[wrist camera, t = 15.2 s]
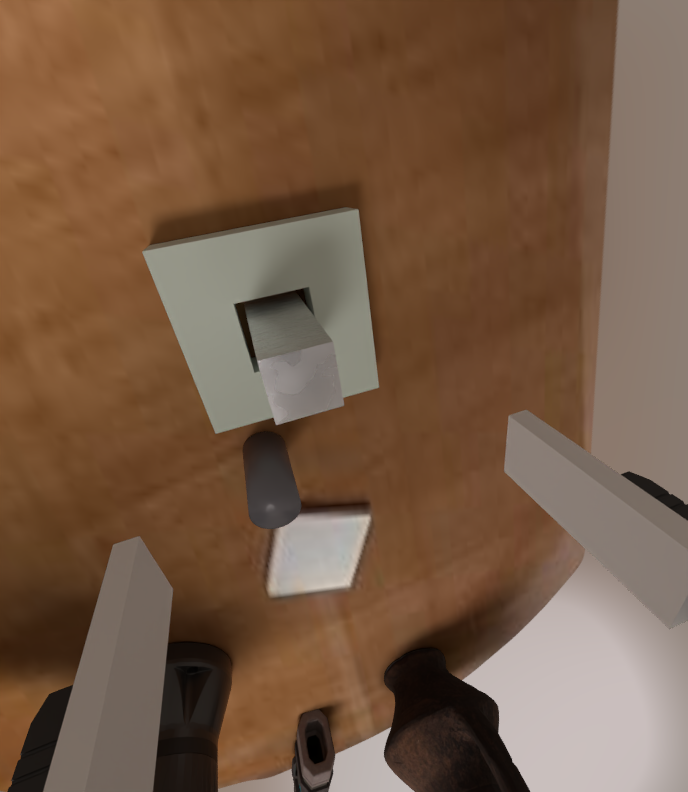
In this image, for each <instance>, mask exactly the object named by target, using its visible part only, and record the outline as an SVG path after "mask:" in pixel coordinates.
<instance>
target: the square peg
mask: <svg viewBox="0 0 688 792" xmlns="http://www.w3.org/2000/svg"><path fill="white" fill-rule="evenodd" d="M243 303H244V307H245V311H246V316H247V320H248V324H249V329H250V333H251V337H252V342H253V346H254V350H255V355H256V359H257V363H258V366H259V369H260V373H261V376H262V380H263V383H264V386H265V390H266V393H267V396H268V400H269V403H270V407H271V410H272V413H273V417H274V420H275V423H276V425H279V424H282V423H286V422H289V421H293V420H296V419H300V418H303V417H307V416H310V415H314V414H317V413H321V412H324V411H328V410H331V409H334V408H338V407H341V406H344V401H343V395H342V389H341V384H340V378H339V372H338V366H337V361H336V355H335V349H334V344H333V341H332V339H331V338H330V337H329V335H328V334H327V333H326V331H325V330H324V329H323V327H322V326H321V325H320V323H319V322H318V321H317V319H316V318H315V317H314V315H313V314H312V313H311V311H310V310H309V309H308V307H307V306H306V305H305V303H304V302H303V301H302V299H301V298H300V297H299V296H298V294H297V293H296V292H295V290H293V291H289V292H284V293H280V294H275V295H271V296H266V297H262V298H258V299H253V300H249V301H244V302H243Z"/></svg>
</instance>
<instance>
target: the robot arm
mask: <svg viewBox="0 0 688 792" xmlns="http://www.w3.org/2000/svg"><path fill="white" fill-rule="evenodd" d="M504 472H505V473H506V474H507V475H508V476H509V477H511V478H512V479H513V480H514V481H515V482H516V483H517V484H518V485H519V486H520V487H521V488H522V489H523V490H524V491H525V492H526V493H527V494H528V495H529V496H530V497H531V498H533V499H534V500H535V501H536V502H537V503H538V504H539V505H540V506H541V507H542V508H543V509H544V510H545V511H546V512H547V513H548V514H549V515H550V516H551V517H552V518H553V519H555V520H556V521H557V522H558V523H559V524H560V525H561V526H562V527H563V528H564V529H565V530H566V531H567V532H568V533H569V534H570V535H571V536H572V537H573V538H574V539H576V540H577V541H578V542H579V543H580V544H581V545H582V546H583V547H584V548H585V549H586V550H587V551H588V552H589V553H590V554H591V555H592V556H593V557H594V558H595V559H597V560H598V561H599V562H600V563H601V564H602V565H603V566H604V567H605V568H606V569H607V570H608V571H609V572H610V573H611V574H612V575H613V576H614V577H615V578H616V579H617V580H618V581H620V582H621V583H622V584H623V585H624V586H625V587H626V588H627V589H628V590H629V591H630V592H631V593H632V594H633V595H634V596H635V597H636V598H637V599H638V600H639V601H640V602H642V603H643V604H644V605H645V606H646V607H647V608H648V609H649V610H650V611H651V612H652V613H653V614H654V615H655V616H656V617H657V618H658V619H659V620H661V621H662V622H663V623H664V624H665V625H666V626H667V627H668V628H669V629H671V628H673V627H675V626H677V625H679V624H681V623H684V622H686V621H688V504H687V505H685V504H684V502H683V501H681V500H680V499H679V498H677V497H675V496H674V495H673V494H671V495H670V494H669V493H668V491H666V490H665V489H663V488H662V487H660V486H659V485H657V484H656V483H654V482H653V481H651V480H649V479H647V478H644V477H642V476H639V475H637V474H634V473H631V472H626V473H624V474H621V475H620V474H619V473H618V472H616V471H615V470H613V469H612V468H610V467H609V466H607V465H606V464H604V463H603V462H602V461H600V460H599V459H597V458H596V457H594V456H593V455H591V454H590V453H589V452H587V451H586V450H584V449H583V448H581V447H580V446H578V445H577V444H576V443H574V442H573V441H571V440H570V439H568V438H567V437H565V436H564V435H562V434H561V433H560V432H558V431H557V430H555V429H554V428H552V427H551V426H549V425H548V424H547V423H545V422H544V421H542V420H541V419H539V418H538V417H536V416H535V415H533V414H532V413H531V412H529V411H528V410H524V411H521V412H518V413H515V414H512V415H509V419H508V430H507V442H506V454H505V466H504ZM172 596H173V588H172V586H171V585H170V583H169V582H168V580H167V579H166V577H165V575H164V574H163V572H162V571H161V569H160V567H159V566H158V564H157V563H156V561H155V560H154V558H153V556H152V555H151V553H150V552H149V550H148V549H147V547H146V545H145V544H144V542H143V541H142V539H141V538H140V536H138V537H135V538H132V539H129V540H125V541H122V542H119V543H116V544H113V547H112V551H111V554H110V558H109V561H108V565H107V568H106V572H105V575H104V579H103V582H102V586H101V589H100V593H99V596H98V600H97V604H96V607H95V611H94V614H93V618H92V621H91V625H90V628H89V632H88V635H87V639H86V642H85V646H84V649H83V653H82V656H81V660H80V663H79V667H78V670H77V674H76V677H75V681H74V685H72V686H69V687H66V688H64V689H61V690H58V691H56V692H53V693H51V694H49V696H48V697H47V699H46V700H45V702H44V704H43V705H42V707H41V708H40V710H39V712H38V713H37V715H36V716H35V718H34V720H33V721H32V723H31V725H30V728H29V731H28V734H27V737H26V740H25V742H24V745H23V748H22V751H21V754H20V755H21V759H20V760H19V761H18V763H17V766H16V769H15V772H14V775H13V777H12V780H11V781H12V785H11V787H9V789H8V792H218V765H217V751H218V738H219V734H220V730H221V726H222V722H223V718H224V715H225V711H226V707H227V703H228V699H229V695H230V691H231V685H232V670H231V661H230V659H229V657H228V656H227V655H226V654H225V653H224V652H223V651H222V650H220V649H218V648H216V647H213V646H210V645H206V644H201V643H174V644H168V636H169V626H170V616H171V606H172Z"/></svg>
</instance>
